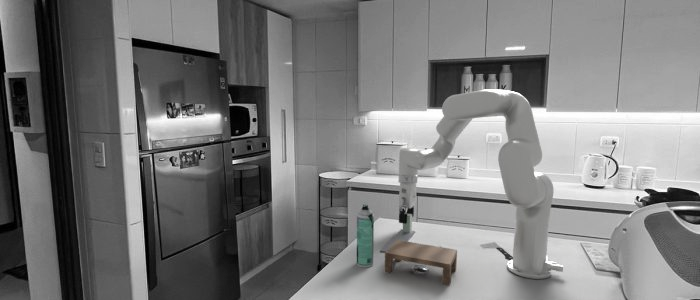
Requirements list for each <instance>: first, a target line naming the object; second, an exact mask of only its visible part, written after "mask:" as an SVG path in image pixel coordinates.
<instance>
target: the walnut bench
mask: <svg viewBox="0 0 700 300" xmlns="http://www.w3.org/2000/svg"><path fill="white" fill-rule="evenodd" d="M457 256H458V249H454V248H448V247H443V246H442V247H441V246H436V245H432V244H431V245H430V244H423V243H417V242H412V241H408V242H406V241H400V240H396V241H395V243H394V244H393V245H392V246H391V247H390V248H389V249H388V250H387V251H386V252H384V273H386V274H389V275H390V274H392V273H393V271H394V261H396V262H402V261H403V262H409V263H415V264H418V265H424V266H428V267H430V266H431V267H435V268H441V269H442V285H444V286H450V285H451V281H452V272H456V271H457V262H458V261H457V259H458V257H457Z"/></svg>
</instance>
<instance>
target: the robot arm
mask: <svg viewBox="0 0 700 300" xmlns="http://www.w3.org/2000/svg"><path fill="white" fill-rule="evenodd" d="M441 112H442V114H443V116H442V118H441V119H440V121H439V122H438V123H437V124H436V127H435V128H436V129H435V130H436V132H437V133H438V135H439V137H438V139H437V140H436V142H435V143H434V144H433V146H432V147H431V148H425V149H419V150H418V149H417V148H415V147H403V148H401V149H399V153H398V155H399V156H398V183H399V194H398V207H399V211H398V224H403V223H404V224H406V223H407V214H412V218H413V217H414V214H415V212H414V211H415V205H416V204H417V183H418V174H419V173H418V171H424V170H429V169H432V168H438V167H439V166H441V165H442V164H443V163H444V162H445V161H446V160H447V158H448V157H449V156H450V155H451V153H452V152H453V150H454V149H455V148H454V147H455V144H456V140H457V138H458V137H459V136H460V134H461V133H462V132H463V131H464V130H465V128H467V126H468V125H469V124H470V123H471V122H472V121H473V120H474V119H481V118H488V117H489V118H490V117H491V118H492V117H503V118H504V119H505V131H506V132H505V133H506V135H507V140H508V141H507V142H505V143H503V145H502V146H501V147H500V149H499V151H498V157H497V160H498V165H499V171H500V175H501V179H502V185H503V188H504V193H505V196H506V199H507V200H508V201H509V203H510V204H511V205H512V206H514V207H516V210H515V217H514V218H515V219H514V235H513V236H514V237H513V249H512V251H513V252H512V257H513V260H508V261H507V263H506V264H507V265H506V267H507V269H508V271H510V272H512V273H513V274H514V275H517V276H519V277H522V278H527V279H533V280H534V279H535V280H542V279H547V278H549V277H551V275H552V271H556V272H561V273H563V272H564V265H561V264H559V263H558V262H557V261H556V262H555V261H550V260H548V255H547V254H548V240H549V227H550V215H551V209H552V203H553V198H554V185H553V182H552V180H551V179H550V177H549V176H547V175H546V174H545V173H542V172H538V171H535V170H534V167H536V166H538V165H540V163H541V161H542V159H543V151H542V147H541V146H542V145H541V143H540V138H539V134H538V129H537V127H536V122H535V118H534V114H533V109H532V107H531V104H530V102H529V100H528V99H527V98H526V97H525V96H523V95H522V94H521V93H519V92H515V91H511V90H505V89H480V90H475V91H474V90H473V91H470V92H464V93H459V94H458V93H457V94H452V95H450V96H448V97H447V98H446V99H445V100H444V102H443V104H442V106H441Z"/></svg>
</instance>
